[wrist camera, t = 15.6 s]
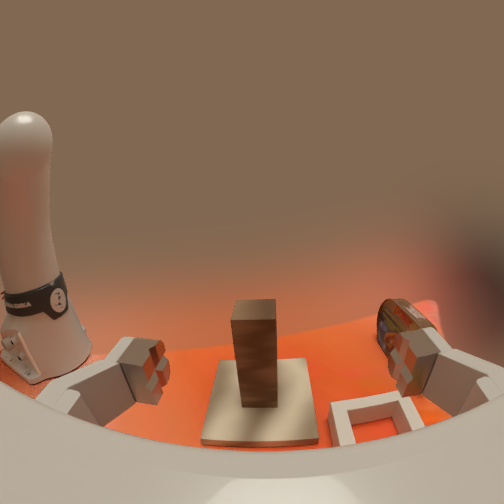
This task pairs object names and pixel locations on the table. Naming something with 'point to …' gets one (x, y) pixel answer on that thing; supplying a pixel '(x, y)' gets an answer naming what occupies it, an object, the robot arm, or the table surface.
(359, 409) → the holder
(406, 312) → the tin
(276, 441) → the board
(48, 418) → the robot arm
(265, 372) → the peg
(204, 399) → the table surface
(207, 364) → the table surface
